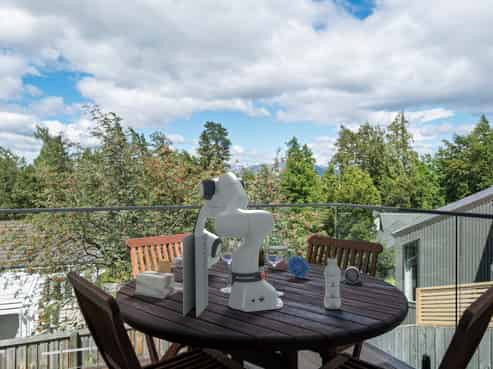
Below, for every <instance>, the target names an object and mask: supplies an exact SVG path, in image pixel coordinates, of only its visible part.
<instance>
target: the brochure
mask: <svg viewBox="0 0 493 369" xmlns="http://www.w3.org/2000/svg"><path fill="white" fill-rule="evenodd" d="M181 241H182V257H183V267H182V283H183V291H182V304H183V307H182V311H183V312H182V314H183V317H185V316H186V315H187V314H188V313H189V312H191V310H192V309H193V308H194V307H195V315H196V316H195V317H196V318H197V317H199V316H198V315H201V314H202V312H204V311H205V309H207V307H208V306H209V269H208V246H207V233H205V234H203V235H201V236H198V237H196V234H195V233H192V232H191V233H190V234H187V235H185V236H183V237H182V240H181Z"/></svg>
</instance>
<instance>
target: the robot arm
mask: <svg viewBox="0 0 493 369" xmlns="http://www.w3.org/2000/svg"><path fill="white" fill-rule="evenodd" d="M245 186H246V185H245V182H244V180H243V179H242V178H240V177H238V176H237V175H236V174H234V173H232V172H225V173H224V172H223V174H221V175H219V177H211V178H210V177H208V178H205V179H203V180H201V181H200V184H199V189H198V190H199V194H200V197H201V198H202V199H203V200H204V204H202V205H201V206H200V207H199V209H198V211H197V214H196V218H195V222H194V225H193V229H192V232H191V234H192V233H195V234H196V237H198V236H201V235H203V234H205V233H207V246H208V270H209V269H212V265H215V264H216V263H218V262H219V260H220V258H221V252H222V250H223V241H222V238H228V239H237V238H243V241H242V242H241V244H240V245H239V246H237V247H235V248H233V251H232V252H231V270H230V277H229V278H230V279H229V280H230V285H231V287H230V296H229V300H228V307H229V308H232V309H233V310H240V311H243V312H246V313H248V312H258V311H267V310H277V309H283V307H284V303H283V300H282V299H281V298H280V297H278V293H277V289H276V288H275V287H274V286H273V285H271V284H270V283H269V282H268V281H266V280H265V278H266V274H265V272H264V271H262V270H260V269H259V261H260V260H259V258H260V250H261V247H262V244H263V242H264V241H265V239H266V238H267V237H268V236H269V235H270V234H271V233H272V232H273V230H274V228H275V219H274V216H273V215H272V213H271V212H270V211H267V210H261V209H252V210H251V209H250V210H249V209H247V208H248V205H249V198H248V195H247V193H246V187H245ZM246 209H247V210H246ZM207 219H214V222H213V228H214V229H213V230H214V231H215V233H216V234H217V235H215V234H213V233H212V232H211V231H208V230H207V229H206V228H205V226H206V221H207ZM172 266H173V267H182V268H183V256H177V257H174V258H173V259H172Z"/></svg>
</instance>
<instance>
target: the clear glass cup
mask: <svg viewBox="0 0 493 369" xmlns="http://www.w3.org/2000/svg"><path fill="white" fill-rule="evenodd" d="M267 248H268V252H269V251H283V252H284V255H285V258H284V260H283V261H282V262H281V263H279V264H278V265H277V266H276V267H273V266H271V265H269V264H268V269H270V268H271V270H286V269H289V268H288V267H287V264H288V263H289V261H288V259H289V258H288V249H289V248H288V245H286V246H285V245H269V246H267Z"/></svg>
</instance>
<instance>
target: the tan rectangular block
mask: <svg viewBox="0 0 493 369" xmlns="http://www.w3.org/2000/svg"><path fill="white" fill-rule="evenodd" d="M158 272H163V273H170V274H172V273H171V259H167V258H162V259H158Z"/></svg>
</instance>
